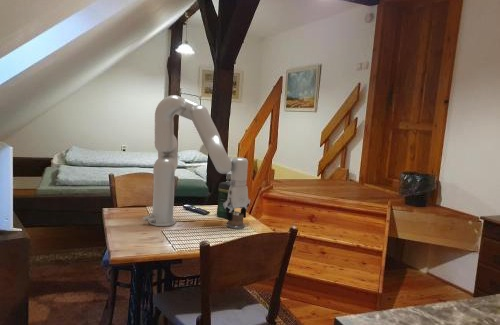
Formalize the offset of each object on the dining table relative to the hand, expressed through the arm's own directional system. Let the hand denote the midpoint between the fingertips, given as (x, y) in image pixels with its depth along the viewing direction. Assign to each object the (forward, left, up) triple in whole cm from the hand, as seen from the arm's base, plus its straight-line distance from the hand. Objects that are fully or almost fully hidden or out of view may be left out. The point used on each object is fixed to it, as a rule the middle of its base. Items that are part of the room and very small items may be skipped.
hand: (236, 218), depth 172 cm
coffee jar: (+8, +16, -4) cm, 18 cm away
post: (0, 0, -4) cm, 4 cm away
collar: (0, 0, -3) cm, 3 cm away
